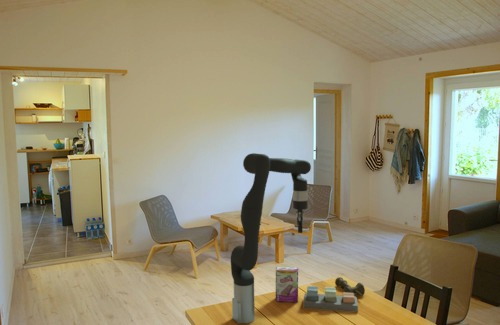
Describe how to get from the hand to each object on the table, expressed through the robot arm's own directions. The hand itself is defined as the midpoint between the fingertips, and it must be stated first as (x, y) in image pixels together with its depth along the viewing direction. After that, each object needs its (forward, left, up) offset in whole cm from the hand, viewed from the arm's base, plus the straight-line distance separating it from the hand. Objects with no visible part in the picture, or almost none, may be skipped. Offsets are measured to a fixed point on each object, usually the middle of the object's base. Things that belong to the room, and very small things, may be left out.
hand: (300, 232), depth 205 cm
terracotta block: (+11, -24, -31) cm, 41 cm away
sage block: (+4, -19, -29) cm, 35 cm away
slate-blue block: (-3, -14, -29) cm, 32 cm away
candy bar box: (-11, -4, -32) cm, 34 cm away
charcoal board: (+4, -19, -32) cm, 37 cm away
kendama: (+22, -13, -32) cm, 41 cm away
